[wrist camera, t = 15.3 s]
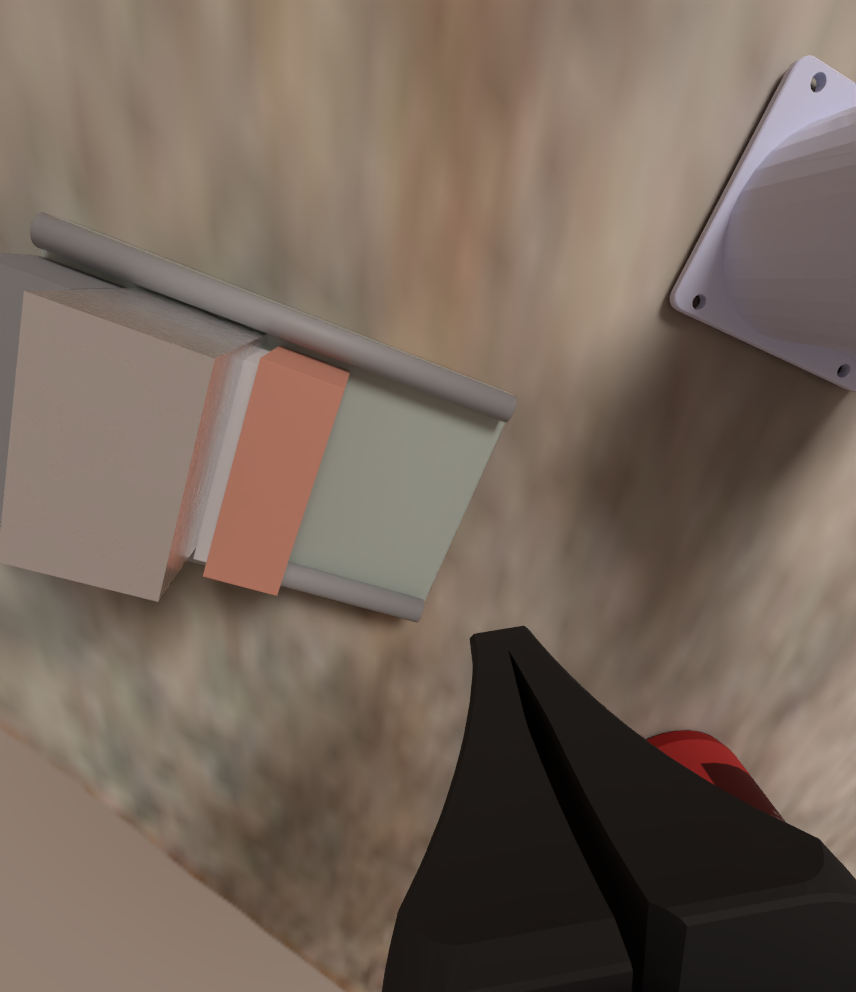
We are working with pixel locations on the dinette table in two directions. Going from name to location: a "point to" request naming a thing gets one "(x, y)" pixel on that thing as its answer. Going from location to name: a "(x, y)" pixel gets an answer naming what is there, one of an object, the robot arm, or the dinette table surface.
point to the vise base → (355, 433)
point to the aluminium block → (116, 434)
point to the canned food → (714, 765)
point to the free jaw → (268, 466)
